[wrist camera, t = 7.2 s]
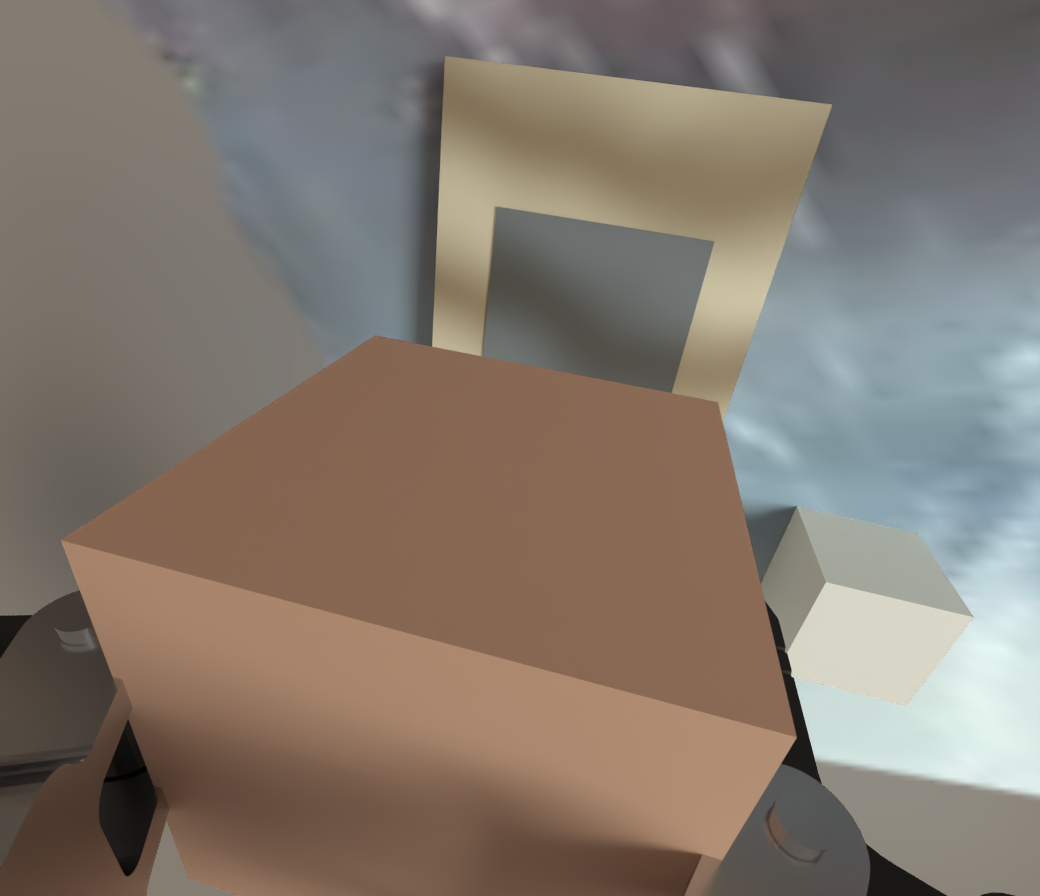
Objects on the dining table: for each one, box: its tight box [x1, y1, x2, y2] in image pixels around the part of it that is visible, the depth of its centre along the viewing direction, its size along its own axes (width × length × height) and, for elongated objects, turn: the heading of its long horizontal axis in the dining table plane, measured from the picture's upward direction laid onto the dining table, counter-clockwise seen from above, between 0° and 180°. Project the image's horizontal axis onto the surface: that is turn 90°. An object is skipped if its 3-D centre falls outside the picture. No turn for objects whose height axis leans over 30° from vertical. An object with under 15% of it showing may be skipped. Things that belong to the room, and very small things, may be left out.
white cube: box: [761, 506, 974, 706], centre depth 23 cm, size 5×5×5 cm
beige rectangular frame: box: [432, 56, 832, 421], centre depth 22 cm, size 16×12×2 cm
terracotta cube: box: [61, 336, 797, 896], centre depth 8 cm, size 6×6×6 cm
